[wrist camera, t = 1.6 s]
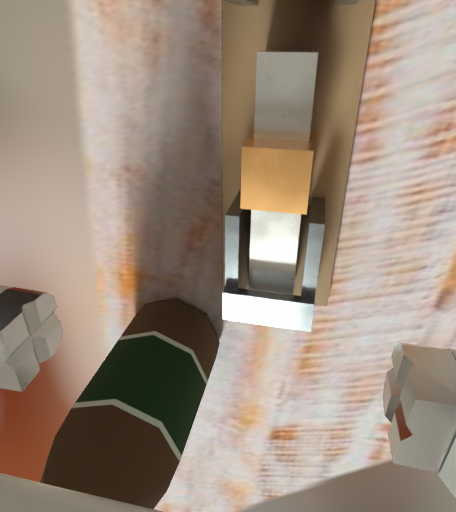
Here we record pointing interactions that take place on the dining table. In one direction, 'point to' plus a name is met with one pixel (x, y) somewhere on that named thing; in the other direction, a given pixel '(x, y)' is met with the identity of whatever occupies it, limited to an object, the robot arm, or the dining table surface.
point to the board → (324, 109)
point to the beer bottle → (137, 408)
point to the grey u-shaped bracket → (261, 302)
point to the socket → (253, 1)
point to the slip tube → (279, 165)
